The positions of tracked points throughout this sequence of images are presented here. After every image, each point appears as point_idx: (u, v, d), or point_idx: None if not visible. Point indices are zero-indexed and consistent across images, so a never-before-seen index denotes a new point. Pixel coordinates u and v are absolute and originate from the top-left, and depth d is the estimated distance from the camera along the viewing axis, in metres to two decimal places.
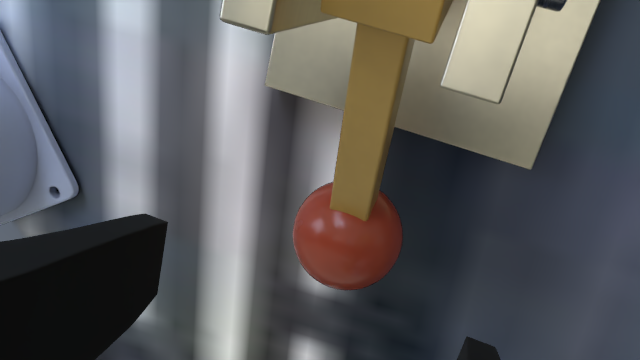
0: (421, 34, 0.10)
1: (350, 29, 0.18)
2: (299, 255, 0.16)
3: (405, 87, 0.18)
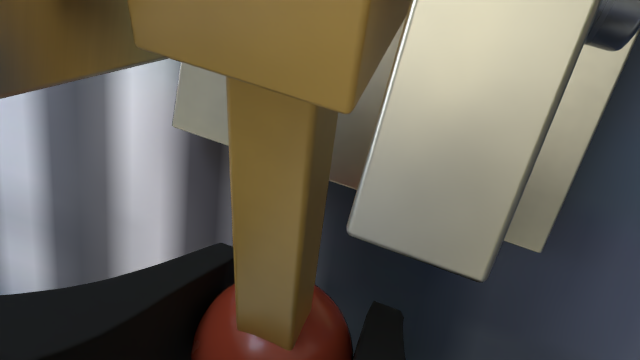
0: (326, 96, 0.05)
1: None
2: None
3: (361, 134, 0.13)
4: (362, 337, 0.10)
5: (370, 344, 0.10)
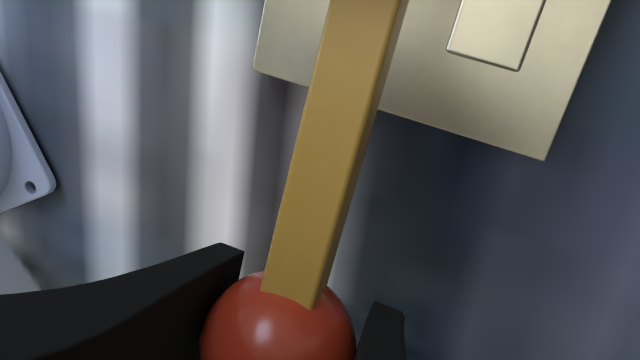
0: None
1: None
2: None
3: (405, 70, 0.17)
4: (363, 337, 0.10)
5: (371, 344, 0.10)
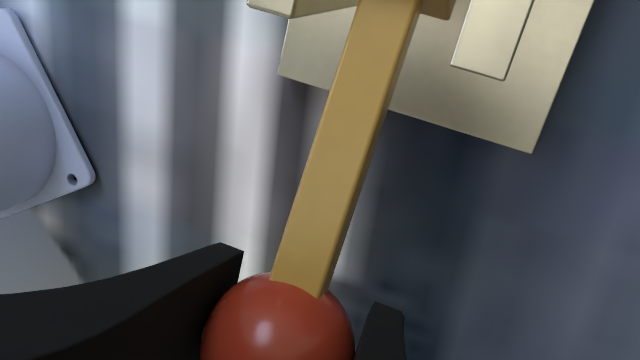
0: None
1: None
2: (211, 350, 0.11)
3: (412, 75, 0.19)
4: (363, 337, 0.10)
5: (371, 344, 0.10)
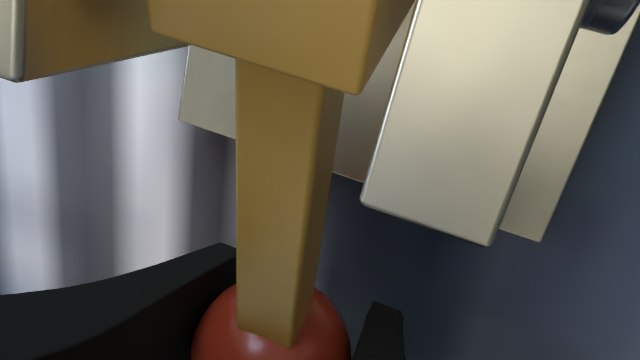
0: (336, 77, 0.05)
1: None
2: None
3: (365, 126, 0.13)
4: (362, 337, 0.10)
5: (370, 344, 0.10)
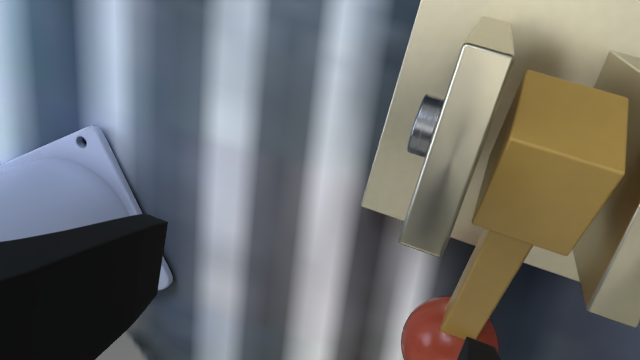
0: (559, 250, 0.13)
1: None
2: None
3: None
4: None
5: None
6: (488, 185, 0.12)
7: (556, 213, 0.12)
